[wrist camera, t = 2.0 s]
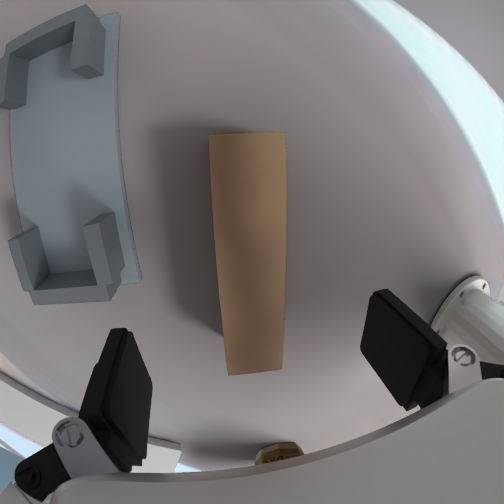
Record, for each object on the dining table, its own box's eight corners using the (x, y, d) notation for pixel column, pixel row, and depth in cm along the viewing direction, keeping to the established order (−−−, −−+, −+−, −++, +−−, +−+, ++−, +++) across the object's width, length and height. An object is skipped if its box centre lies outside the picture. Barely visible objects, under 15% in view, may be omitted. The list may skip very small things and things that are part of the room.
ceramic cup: (237, 465, 33) (245, 517, 23) (257, 436, 30) (271, 499, 20) (309, 461, 36) (325, 507, 26) (338, 432, 33) (361, 483, 24)
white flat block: (-21, 340, 22) (-16, 388, 23) (-37, 352, 18) (-28, 401, 18) (180, 428, 32) (166, 466, 32) (182, 451, 27) (167, 487, 27)
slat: (266, 137, 18) (285, 132, 13) (268, 330, 24) (281, 368, 19) (209, 139, 17) (208, 134, 13) (223, 335, 23) (228, 375, 19)
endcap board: (120, 16, 12) (105, -6, 9) (141, 278, 20) (130, 303, 16) (19, 57, 11) (-5, 49, 8) (44, 286, 19) (24, 308, 15)
